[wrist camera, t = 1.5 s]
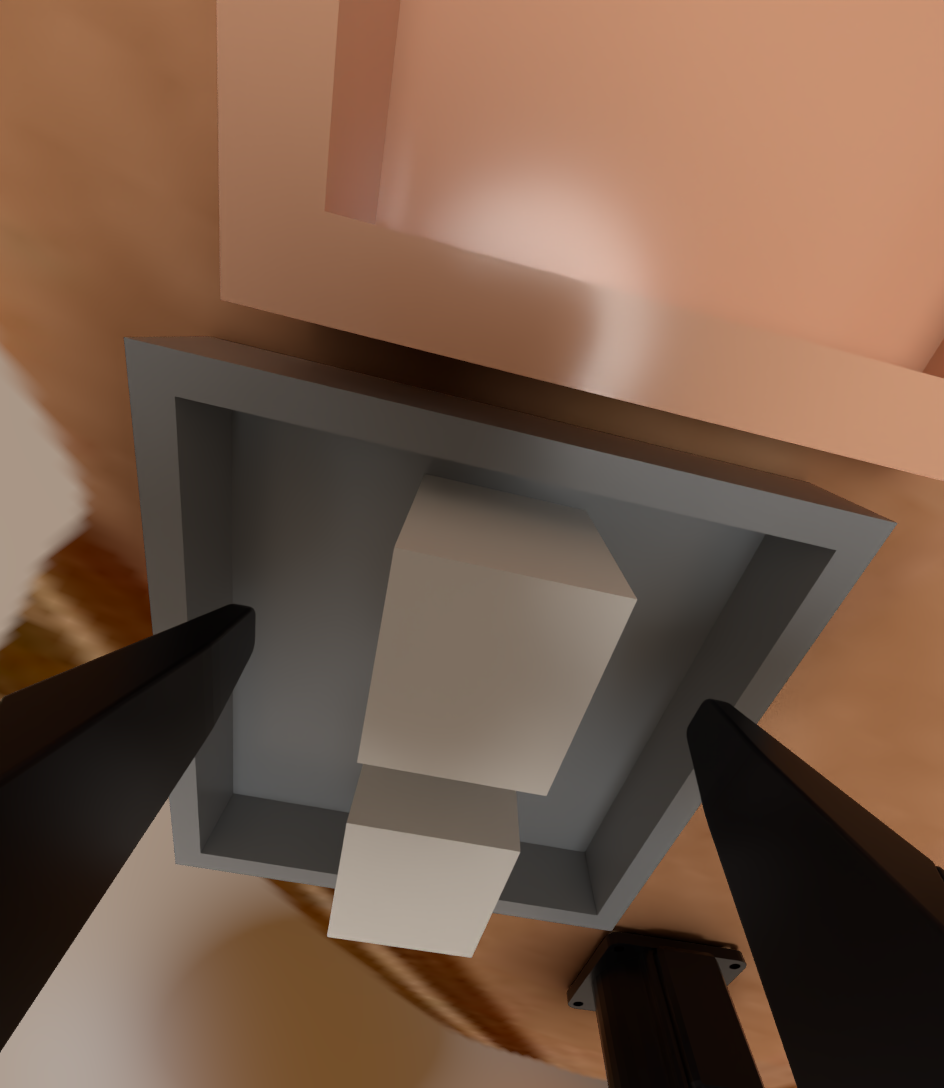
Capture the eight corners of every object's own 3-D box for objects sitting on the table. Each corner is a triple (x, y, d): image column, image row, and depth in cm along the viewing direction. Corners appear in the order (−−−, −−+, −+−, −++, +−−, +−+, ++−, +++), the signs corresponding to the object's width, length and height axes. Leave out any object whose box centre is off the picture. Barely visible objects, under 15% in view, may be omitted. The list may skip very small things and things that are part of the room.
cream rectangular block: (528, 666, 13) (546, 795, 9) (393, 640, 13) (356, 762, 9) (586, 510, 11) (636, 599, 7) (424, 473, 11) (394, 547, 7)
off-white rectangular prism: (474, 815, 16) (471, 957, 12) (363, 796, 16) (327, 936, 12) (510, 715, 14) (520, 851, 10) (383, 691, 13) (346, 822, 10)
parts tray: (594, 851, 18) (611, 931, 15) (219, 788, 16) (175, 863, 14) (809, 482, 11) (897, 522, 9) (209, 336, 10) (123, 336, 8)
